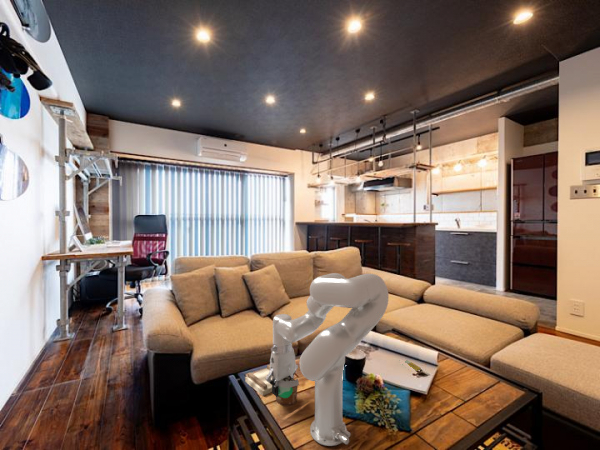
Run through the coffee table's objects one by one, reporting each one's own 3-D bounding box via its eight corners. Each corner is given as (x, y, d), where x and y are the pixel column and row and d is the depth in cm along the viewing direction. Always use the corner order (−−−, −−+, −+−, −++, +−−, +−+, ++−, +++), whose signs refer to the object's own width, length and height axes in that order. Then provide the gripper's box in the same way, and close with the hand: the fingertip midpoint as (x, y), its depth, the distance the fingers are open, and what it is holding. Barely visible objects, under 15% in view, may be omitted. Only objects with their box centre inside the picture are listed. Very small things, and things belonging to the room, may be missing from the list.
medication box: (398, 365, 138) (398, 358, 138) (403, 364, 139) (402, 356, 139) (417, 377, 127) (416, 369, 127) (422, 375, 128) (421, 367, 128)
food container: (266, 398, 112) (266, 374, 112) (277, 391, 117) (277, 367, 117) (287, 412, 104) (287, 386, 104) (299, 404, 109) (298, 379, 108)
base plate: (289, 383, 123) (289, 375, 123) (262, 396, 114) (262, 387, 114) (270, 370, 134) (270, 363, 134) (245, 381, 124) (245, 373, 124)
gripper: (270, 357, 102) (270, 405, 102) (304, 343, 113) (304, 387, 113) (258, 350, 107) (258, 396, 108) (292, 337, 119) (292, 379, 119)
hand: (282, 391), depth 111 cm, fingers closed on food container, 6 cm apart
